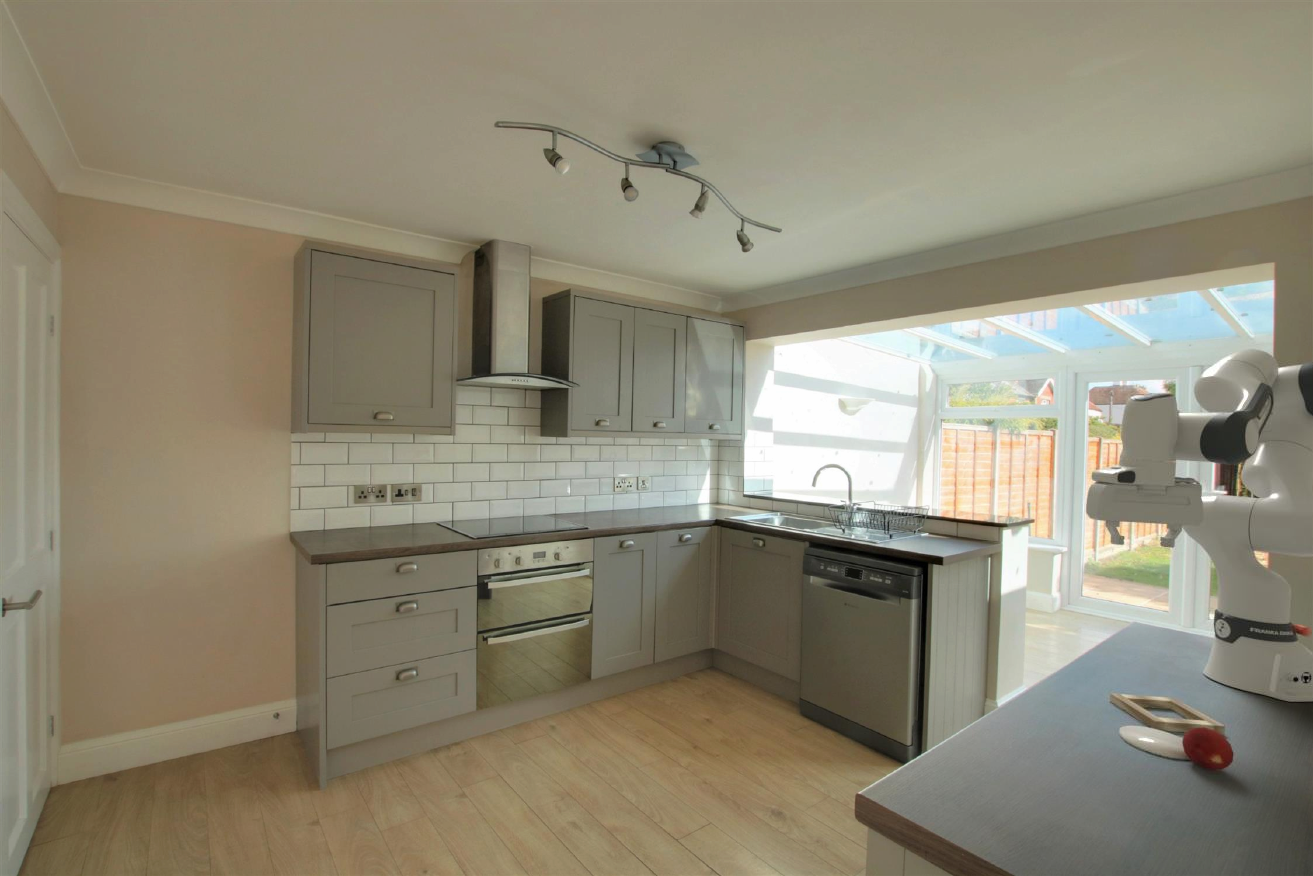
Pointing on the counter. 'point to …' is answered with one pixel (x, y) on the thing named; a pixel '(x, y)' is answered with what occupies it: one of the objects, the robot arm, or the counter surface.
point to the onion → (1207, 748)
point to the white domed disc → (1154, 741)
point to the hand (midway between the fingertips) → (1142, 545)
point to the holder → (1166, 724)
